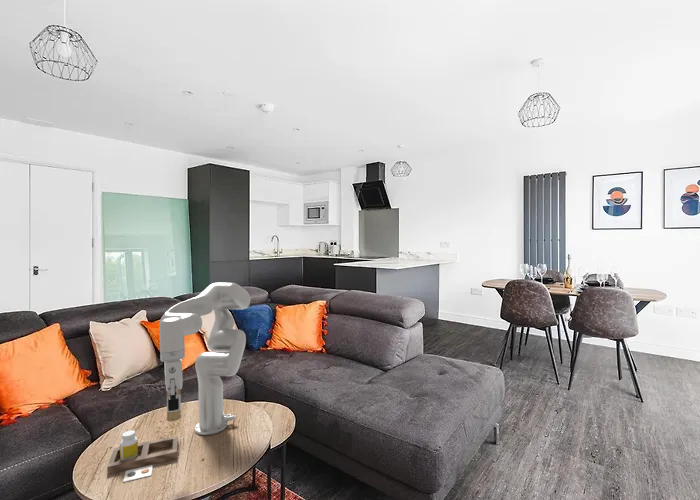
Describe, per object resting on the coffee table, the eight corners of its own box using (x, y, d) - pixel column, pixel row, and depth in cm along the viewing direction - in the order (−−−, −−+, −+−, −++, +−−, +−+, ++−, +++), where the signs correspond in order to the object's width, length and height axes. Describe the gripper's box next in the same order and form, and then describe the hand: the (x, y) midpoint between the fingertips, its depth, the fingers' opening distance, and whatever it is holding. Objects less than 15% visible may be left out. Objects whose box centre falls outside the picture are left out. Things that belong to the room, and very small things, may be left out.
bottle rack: (177, 441, 140) (177, 435, 140) (176, 458, 129) (176, 451, 129) (114, 455, 132) (114, 448, 131) (107, 474, 121) (107, 467, 120)
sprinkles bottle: (164, 419, 124) (163, 380, 123) (177, 414, 127) (176, 376, 127) (170, 423, 121) (169, 384, 120) (183, 418, 124) (183, 379, 124)
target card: (152, 465, 125) (152, 464, 125) (151, 475, 120) (151, 474, 120) (126, 471, 122) (126, 470, 122) (122, 482, 116) (122, 481, 116)
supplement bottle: (141, 458, 130) (140, 431, 129) (126, 466, 125) (126, 438, 124) (131, 454, 132) (131, 428, 132) (116, 462, 127) (116, 435, 127)
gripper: (184, 360, 117) (185, 415, 118) (184, 346, 133) (186, 395, 133) (158, 363, 114) (159, 420, 115) (162, 349, 130) (163, 399, 130)
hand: (173, 406), depth 124 cm, fingers closed on sprinkles bottle, 4 cm apart
